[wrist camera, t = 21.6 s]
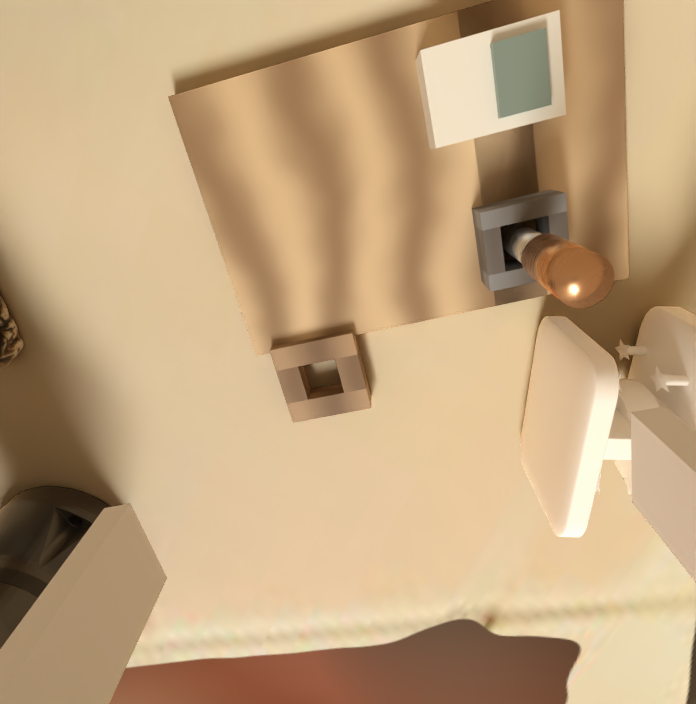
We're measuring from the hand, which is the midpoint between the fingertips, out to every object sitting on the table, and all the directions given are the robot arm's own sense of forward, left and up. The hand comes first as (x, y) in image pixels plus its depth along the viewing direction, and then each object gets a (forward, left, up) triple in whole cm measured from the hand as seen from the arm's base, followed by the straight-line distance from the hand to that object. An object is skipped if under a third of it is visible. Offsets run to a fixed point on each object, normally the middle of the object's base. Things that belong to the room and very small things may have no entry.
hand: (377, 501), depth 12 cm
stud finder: (+10, +10, -27) cm, 30 cm away
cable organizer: (+16, -14, -28) cm, 35 cm away
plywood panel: (+4, +5, -28) cm, 28 cm away
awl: (+11, 0, -27) cm, 28 cm away
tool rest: (-6, -8, -28) cm, 29 cm away
